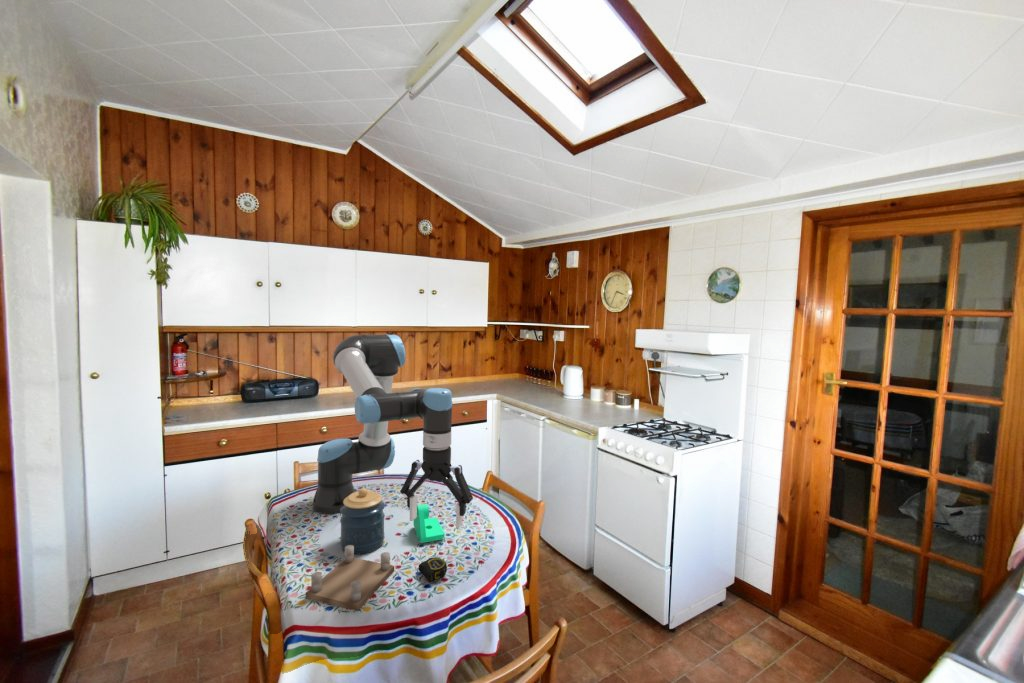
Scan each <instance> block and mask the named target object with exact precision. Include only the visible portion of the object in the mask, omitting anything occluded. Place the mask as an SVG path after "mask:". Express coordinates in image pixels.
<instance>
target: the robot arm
mask: <svg viewBox="0 0 1024 683" xmlns="http://www.w3.org/2000/svg"><path fill="white" fill-rule="evenodd" d="M332 354H333V355H332V360H333V365H334V366H335V369H336V370H337V371H338V372H339V373H340V374H342V375H343V376H344V377H345V380H346V381H347V383H348V385H349V386H350V389H351V391H352V392H353V394H354V396H355V401H354V414H355V418H356V421H357V422H358V423H359V424H363V432H361V433H360V434H359V435H358V441H352V439H350V438H347V437H346V438H336V439H332V440H329V441H326V442H325V443H323V444H322V445H320V446H319V448H318V451H317V461H316V462H317V488H316V491H315V493H314V496H313V498H312V510H313V511H314V512H317V513H319V514H327V515H329V514H338V513H341V512H340V509H341V507H342V506H343V505H344V504H343V501H344V499H345V498H346V497H348V496H349V495H350V494H352V493H354V492H356V490H355V487H354V484H353V475H357V474H361V473H362V474H363V473H367V472H369V473H370V472H373V471H375V472H376V471H381V470H384V469H388V468H389V467H391V465H392V464H393V462H394V459H395V455H396V450H395V448H396V445H395V441H394V439H393V438H392V437H391V435H390V434H389V433H388V430H389V428H388V427H389V422H391V421H401V420H407V419H408V420H410V419H417V418H420V419H422V421H423V423H422V424H423V426H422V428H423V429H422V434H423V436H422V445H423V448H422V462H421V461H420V459H416V460H415V461H413V462H411V468H410V471H409V473H408V475H407V477H406V479H405V481H404V483H403V486H402V487H401V489H400V493H401V494H402V495H403V494H404V495H405V496H406V506H407V508H409V522H414V519H415V518H416V517H417V505H418V494H417V493H416V492H417V490H418V489H419V488H421V486H422V485H423V484H424V483H425V482H426V481H427V479H428V480H429V481H430V482H433V481H435V482H438V483H441V482H442V483H443V484H444V486H446V487H447V489H448V490H449V491H450V492H451V494H452V495H453V497H454V498H455V500H456V501H457V503H456V505H455V506H456V507H455V509H456V510H455V529H456V530H459V529H461V527H462V526H463V517H464V516H465V514H466V512H467V504H469V503H471V502H472V500H473V499H474V498H473V495H472V494H473V493H472V492H471V490H470V486H469V485H468V482H467V480H466V478H465V476H464V474H463V467H462V465H461V464H458V465H457V466H455V465H454V466H452V463H451V461H452V447H451V445H452V424H453V421H452V420H453V418H452V417H453V416H452V414H453V404H454V403H453V394H452V391H451V390H450V389H448V388H443V387H431V388H426V389H424V388H412V389H411V390H409V391H402V392H393V391H392V390H393V381H394V378H395V376H397V375H398V373H399V368H402V367H404V366H405V363H406V349H405V346H404V343H403V340H402V338H401V337H400V336H399V335H397V334H396V335H395V334H387V333H386V334H354V335H350V336H348V337H346V338H344V339H343V340H342V341H341V342H339V343H338V344H337V346H336V347H335V349H334V351H333V353H332ZM420 469H421V470H422V471H423V474H422V476H420V478H419V479H417V482H416V483H414V484H413V481H414V480H415V478H416V476H417V475H418V474H417V473H418V472H419V470H420ZM451 473H452V474H453V475H454V477H453V476H452V474H451ZM454 478H455V480H456V481H455V480H454ZM412 484H413V486H412ZM411 486H412V487H411ZM410 487H411V488H410Z"/></svg>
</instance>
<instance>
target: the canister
mask: <svg viewBox="0 0 1024 683" xmlns="http://www.w3.org/2000/svg"><path fill="white" fill-rule="evenodd" d="M343 504H344V505H343V506H342V507H341V509H340V512H339V513H340V514H341V517H340V518H339V522H340V539H339V540H340V541H339V544H340V548H341V551H343V552H344V553H345V547H346V546H348V545H353V546H354V555H364V554H368V553H372V552H375V551H377V550H378V549H380V548H381V546H383V544H384V542H385V541H384V540H385V516H386V515H385V512H384V509H385V506H386V504H385V502H384V501H383V496H382V495H381V494H379V493H377V492H376V491H374V490H371V489H370V490H368V489H367V488H365V487H362V488H360V489H359V490H358V491H355V492H354V493H352V494H350V495H349V496H348V497H346V498H345V499H344V501H343Z"/></svg>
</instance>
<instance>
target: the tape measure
mask: <svg viewBox="0 0 1024 683" xmlns="http://www.w3.org/2000/svg"><path fill="white" fill-rule="evenodd" d="M447 566H448V565H447V562H446V561H445V560H444V559H442V558H440V557H431V558H428V559H426V560H425V561H423V562H421V563H420V564H419V563H418V571H419V572H420V574H421V575H422V576H423V577H424V578H425V579H426V581H427V582H428V583H429V584H432V583H434V581H440V580H441V579H443V578H444V577H445V576H446V574H447V572H448V567H447Z"/></svg>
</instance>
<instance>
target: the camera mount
mask: <svg viewBox="0 0 1024 683" xmlns="http://www.w3.org/2000/svg"><path fill="white" fill-rule="evenodd" d="M412 522H413V528H414V530H415V534H416V537H417V539H418V541H419V542H420V543H421V544H423V543H429V542H435V541H440V540H444V539H445V535H446V534H445V531H444V529H443V526H442V525H441V524H440V522H439V520H438V518H437V517H434V516H433V517H430V507H429V504H427V503H425V504H424V503H423V504H417V517H416V518H415V519H414V520H413V521H412Z"/></svg>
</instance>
